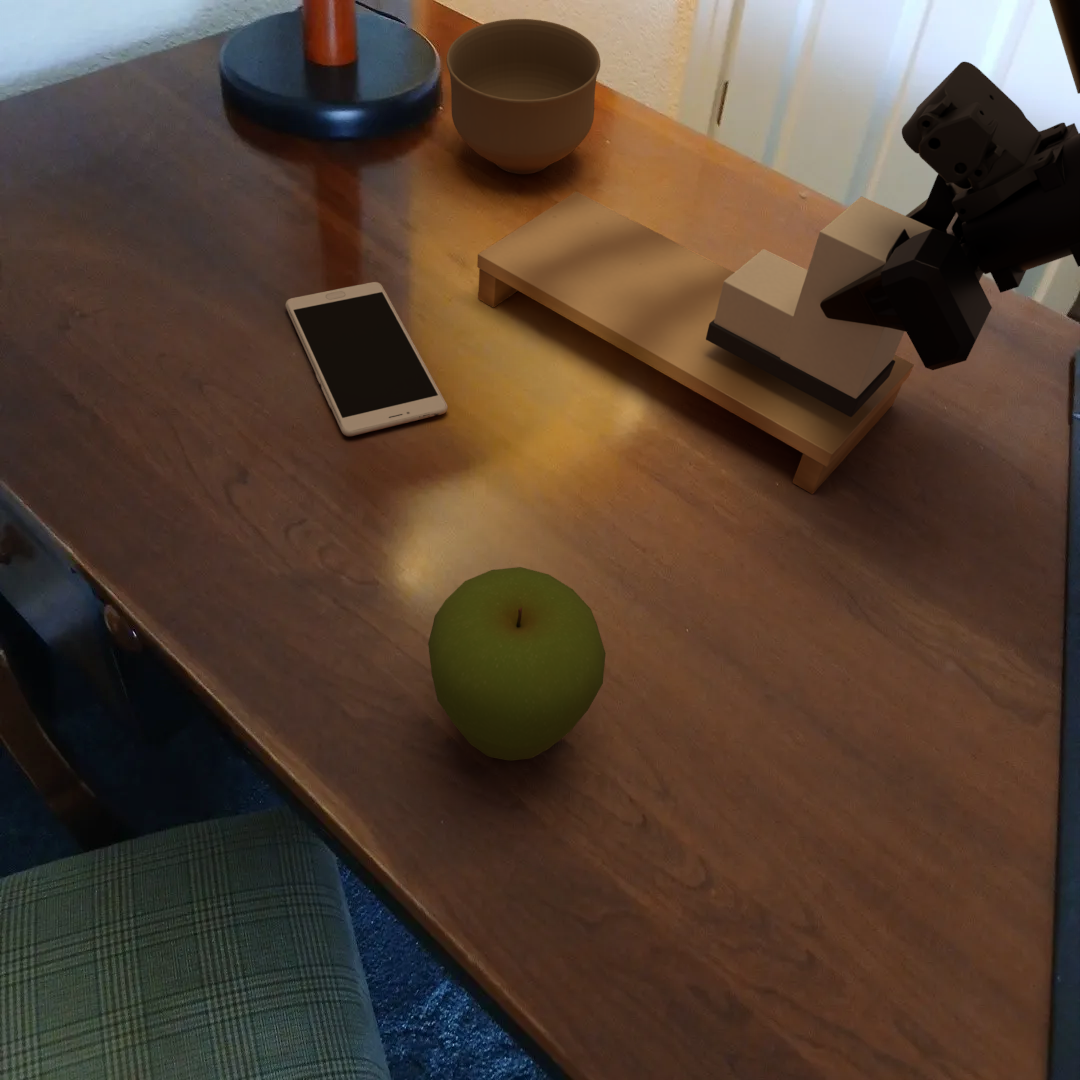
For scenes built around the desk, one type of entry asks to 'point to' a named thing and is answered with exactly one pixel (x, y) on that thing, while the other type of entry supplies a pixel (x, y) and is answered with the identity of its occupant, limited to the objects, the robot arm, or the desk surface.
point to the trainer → (815, 311)
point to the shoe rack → (667, 321)
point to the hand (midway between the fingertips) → (839, 285)
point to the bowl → (523, 91)
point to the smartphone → (364, 359)
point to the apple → (515, 661)
